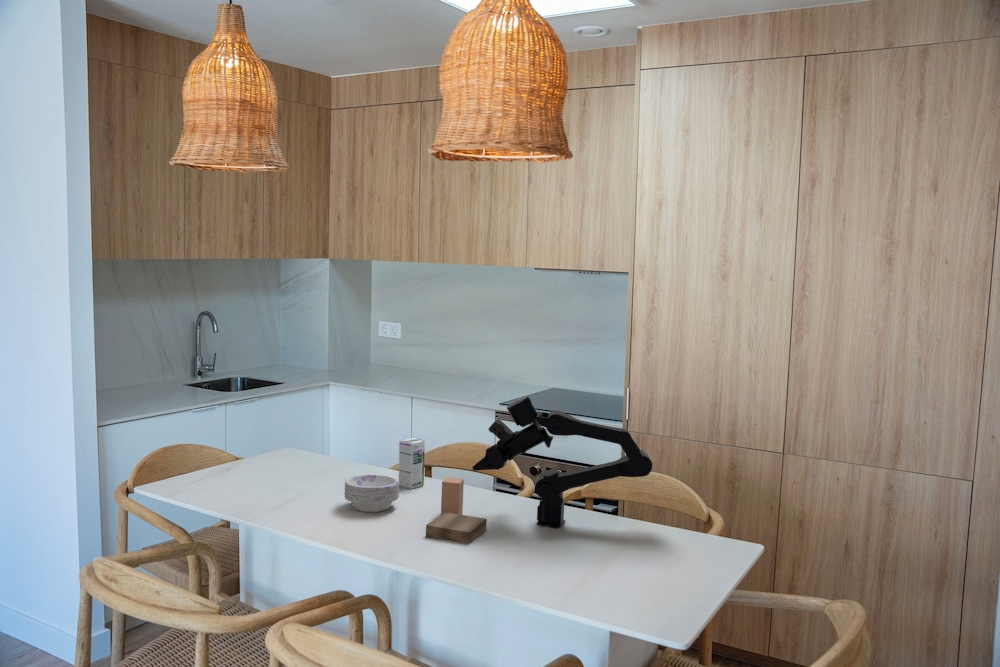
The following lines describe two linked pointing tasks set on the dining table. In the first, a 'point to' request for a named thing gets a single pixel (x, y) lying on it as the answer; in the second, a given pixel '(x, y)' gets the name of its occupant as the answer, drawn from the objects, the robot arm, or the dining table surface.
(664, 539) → the dining table surface
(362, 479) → the paper bowls
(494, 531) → the dining table surface
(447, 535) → the walnut plinth
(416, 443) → the syrup box
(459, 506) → the terracotta block
